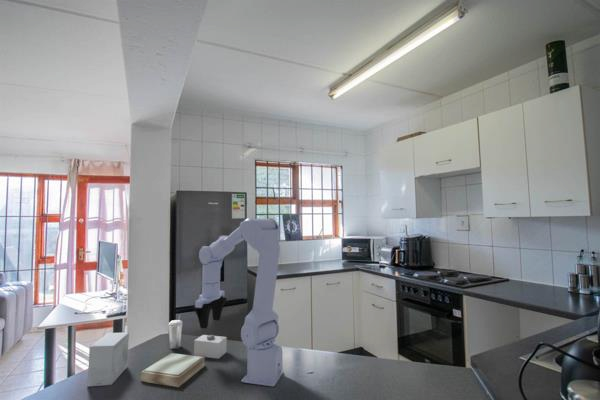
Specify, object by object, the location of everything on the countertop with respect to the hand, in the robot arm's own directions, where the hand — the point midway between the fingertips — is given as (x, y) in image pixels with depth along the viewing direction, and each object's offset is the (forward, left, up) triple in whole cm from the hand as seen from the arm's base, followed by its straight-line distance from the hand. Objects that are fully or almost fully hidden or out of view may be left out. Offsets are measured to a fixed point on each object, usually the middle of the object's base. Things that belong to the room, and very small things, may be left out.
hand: (210, 323), depth 100 cm
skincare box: (+20, +20, -10) cm, 30 cm away
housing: (0, 0, -10) cm, 10 cm away
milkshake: (+15, -2, -10) cm, 18 cm away
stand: (+3, +14, -10) cm, 17 cm away
